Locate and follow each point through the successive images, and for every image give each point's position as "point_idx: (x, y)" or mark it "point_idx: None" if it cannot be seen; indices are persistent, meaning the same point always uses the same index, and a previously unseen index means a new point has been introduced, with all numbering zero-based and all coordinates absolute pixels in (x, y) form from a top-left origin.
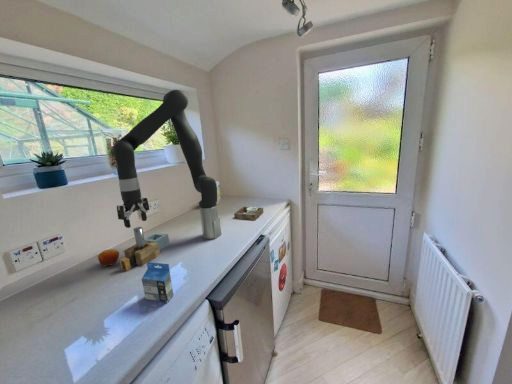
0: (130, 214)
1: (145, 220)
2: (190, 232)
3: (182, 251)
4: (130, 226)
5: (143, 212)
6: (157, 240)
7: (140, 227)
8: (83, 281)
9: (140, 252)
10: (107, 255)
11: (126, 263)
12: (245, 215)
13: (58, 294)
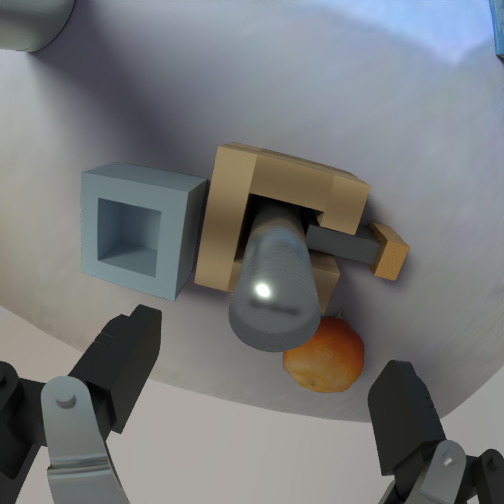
0: (431, 499)
1: (157, 309)
2: (18, 136)
3: (191, 37)
4: (399, 363)
5: (100, 412)
6: (165, 187)
7: (245, 306)
8: (424, 337)
9: (359, 193)
10: (357, 356)
11: (397, 238)
12: None
13: (464, 348)
